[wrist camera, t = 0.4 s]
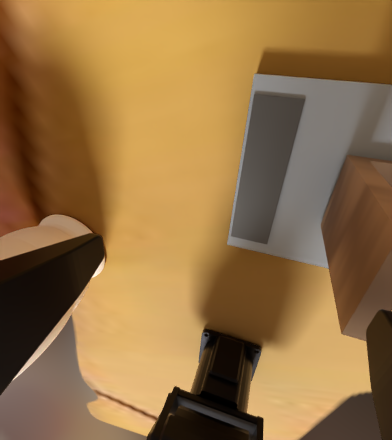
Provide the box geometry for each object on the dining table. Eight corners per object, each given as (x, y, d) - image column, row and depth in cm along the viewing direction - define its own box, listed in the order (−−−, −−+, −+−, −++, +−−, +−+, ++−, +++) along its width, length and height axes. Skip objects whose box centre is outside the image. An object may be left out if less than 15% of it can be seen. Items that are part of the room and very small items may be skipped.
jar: (71, 188, 25) (-148, 310, 12) (133, 270, 28) (7, 432, 15) (18, 222, 30) (-174, 332, 17) (75, 288, 33) (-54, 420, 21)
